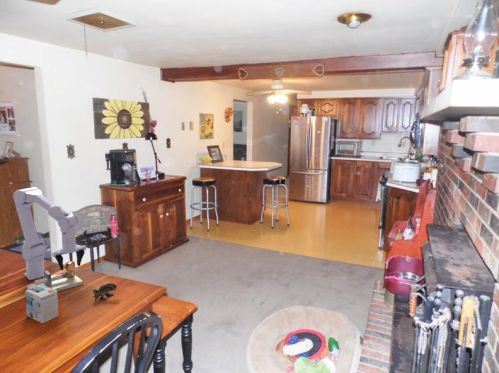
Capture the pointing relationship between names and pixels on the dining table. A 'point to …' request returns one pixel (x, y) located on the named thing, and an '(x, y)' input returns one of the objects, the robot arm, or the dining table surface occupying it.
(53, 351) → the dining table surface
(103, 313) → the dining table surface
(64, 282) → the eye stand
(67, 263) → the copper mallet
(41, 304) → the light bulb box
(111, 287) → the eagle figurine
